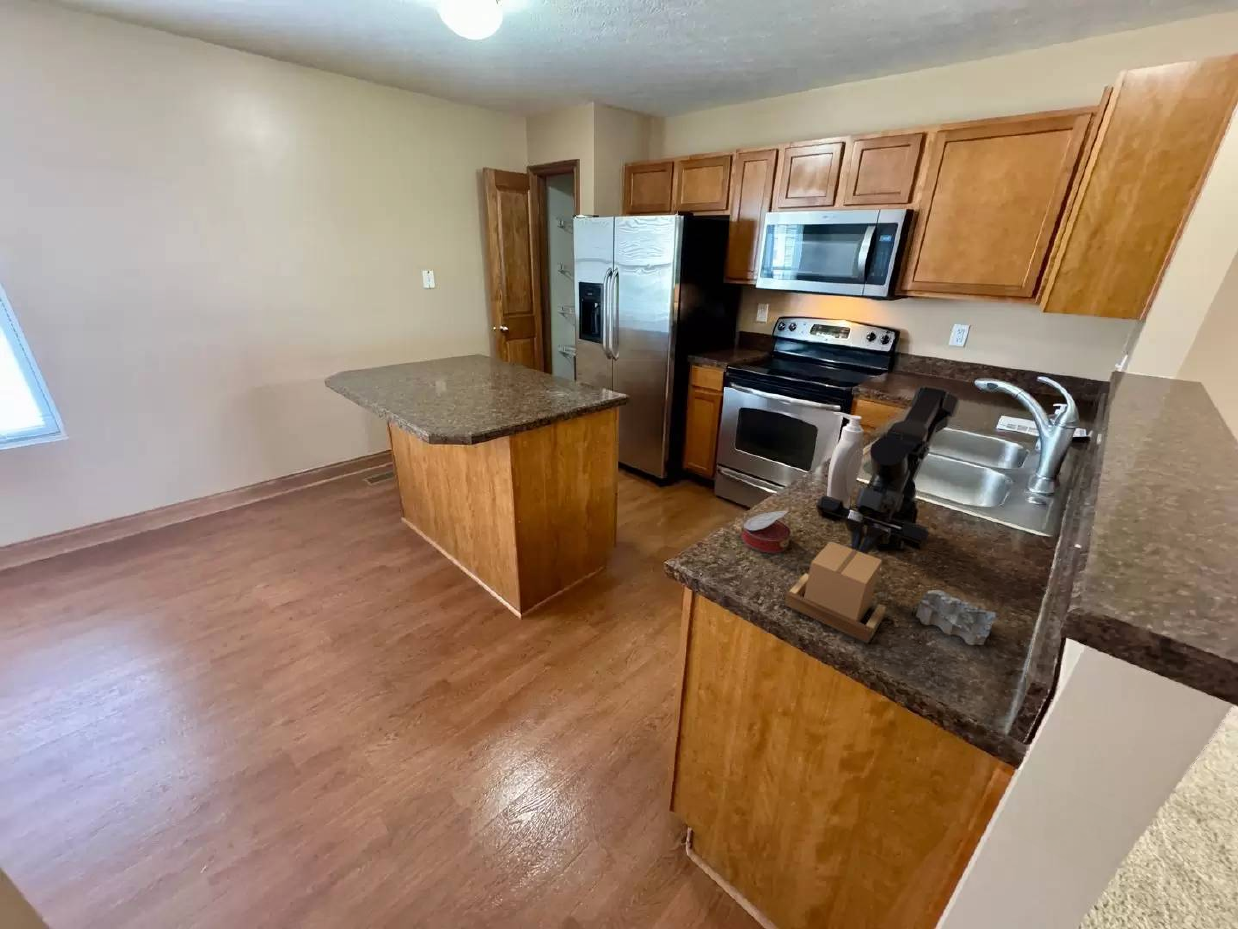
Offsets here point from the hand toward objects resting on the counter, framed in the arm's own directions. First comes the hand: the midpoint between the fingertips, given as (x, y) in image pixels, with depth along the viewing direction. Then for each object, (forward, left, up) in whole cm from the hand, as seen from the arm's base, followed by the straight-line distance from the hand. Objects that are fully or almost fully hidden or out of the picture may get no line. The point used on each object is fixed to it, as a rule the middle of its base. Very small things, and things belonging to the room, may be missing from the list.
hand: (852, 563), depth 92 cm
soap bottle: (-12, -32, -7) cm, 35 cm away
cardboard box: (+3, +3, -7) cm, 8 cm away
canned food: (+9, -19, -7) cm, 22 cm away
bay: (+4, +4, -7) cm, 9 cm away
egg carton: (-15, +8, -7) cm, 19 cm away
